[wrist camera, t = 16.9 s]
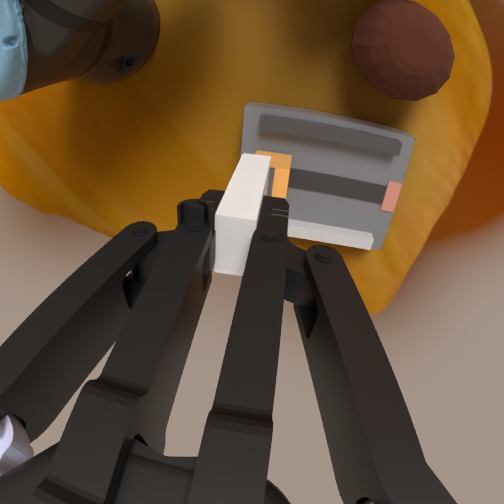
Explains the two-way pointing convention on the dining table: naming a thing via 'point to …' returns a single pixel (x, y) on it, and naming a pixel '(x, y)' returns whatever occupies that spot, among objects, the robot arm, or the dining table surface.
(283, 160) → the breaker toggle
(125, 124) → the dining table surface
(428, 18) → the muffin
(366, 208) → the breaker panel
